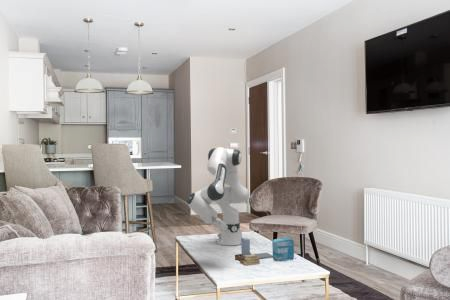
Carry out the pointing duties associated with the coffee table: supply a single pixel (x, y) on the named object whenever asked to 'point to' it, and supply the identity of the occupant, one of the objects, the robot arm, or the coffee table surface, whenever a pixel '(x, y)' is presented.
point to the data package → (283, 249)
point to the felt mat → (263, 255)
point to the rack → (240, 257)
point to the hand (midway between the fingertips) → (226, 231)
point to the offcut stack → (250, 260)
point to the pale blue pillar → (245, 246)
